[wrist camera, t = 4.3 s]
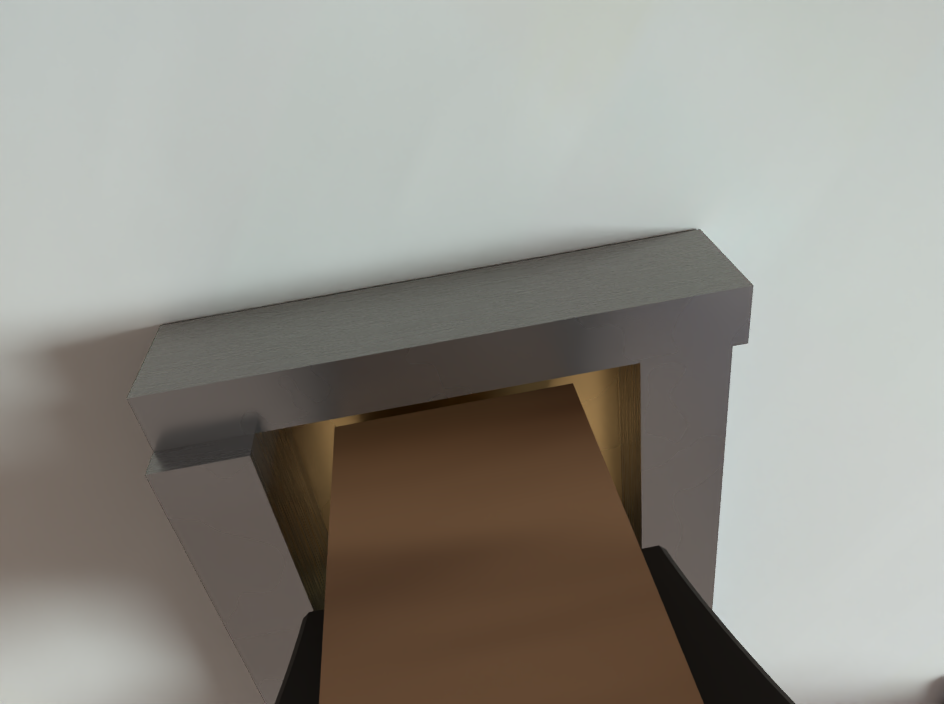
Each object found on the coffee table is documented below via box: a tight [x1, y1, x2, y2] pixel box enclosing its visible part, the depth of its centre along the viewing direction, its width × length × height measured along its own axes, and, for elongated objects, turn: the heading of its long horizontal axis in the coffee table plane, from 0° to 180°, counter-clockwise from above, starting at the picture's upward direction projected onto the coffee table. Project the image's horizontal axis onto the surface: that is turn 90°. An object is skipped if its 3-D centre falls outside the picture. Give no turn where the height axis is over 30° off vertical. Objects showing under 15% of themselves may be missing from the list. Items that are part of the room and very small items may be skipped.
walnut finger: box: [319, 383, 704, 704], centre depth 11 cm, size 5×4×6 cm
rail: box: [127, 229, 753, 704], centre depth 14 cm, size 15×9×6 cm, turn 8°
